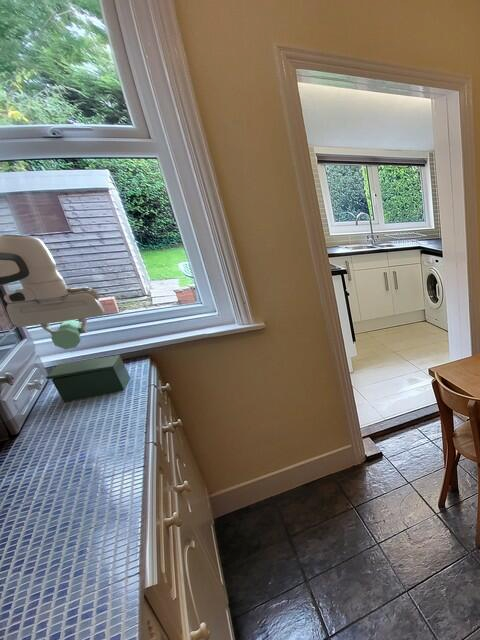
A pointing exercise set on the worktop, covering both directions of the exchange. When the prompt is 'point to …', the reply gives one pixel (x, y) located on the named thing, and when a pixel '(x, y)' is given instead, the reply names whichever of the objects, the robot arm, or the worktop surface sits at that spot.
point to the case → (92, 383)
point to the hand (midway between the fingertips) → (70, 334)
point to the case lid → (83, 366)
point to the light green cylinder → (67, 335)
